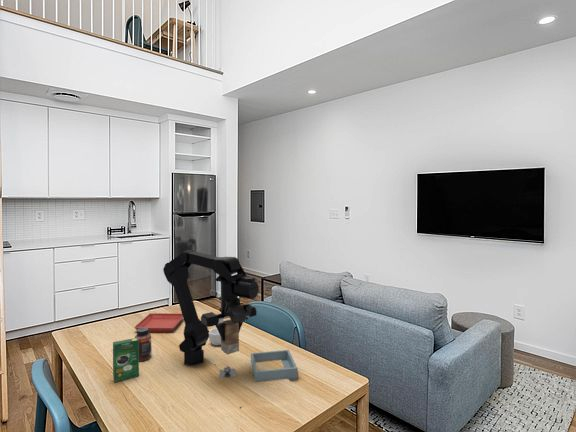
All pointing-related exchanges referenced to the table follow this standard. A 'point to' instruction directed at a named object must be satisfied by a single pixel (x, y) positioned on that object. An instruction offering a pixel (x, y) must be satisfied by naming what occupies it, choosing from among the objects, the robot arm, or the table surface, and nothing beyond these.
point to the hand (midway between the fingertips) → (229, 339)
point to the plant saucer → (160, 322)
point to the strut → (230, 337)
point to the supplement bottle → (144, 344)
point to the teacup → (214, 337)
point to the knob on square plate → (227, 372)
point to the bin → (287, 372)
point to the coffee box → (125, 359)
